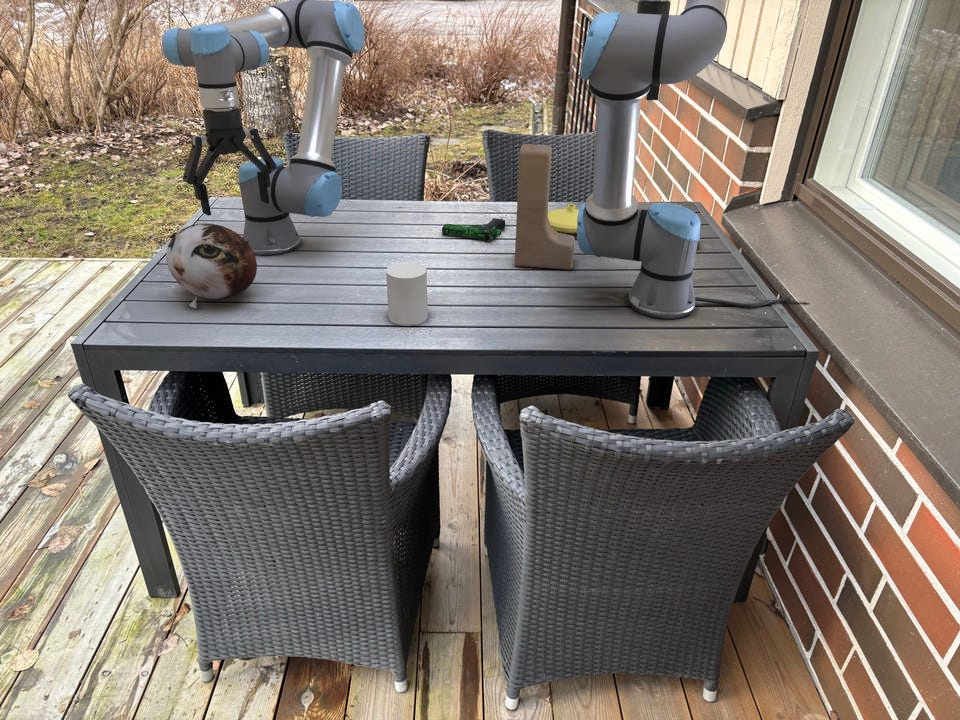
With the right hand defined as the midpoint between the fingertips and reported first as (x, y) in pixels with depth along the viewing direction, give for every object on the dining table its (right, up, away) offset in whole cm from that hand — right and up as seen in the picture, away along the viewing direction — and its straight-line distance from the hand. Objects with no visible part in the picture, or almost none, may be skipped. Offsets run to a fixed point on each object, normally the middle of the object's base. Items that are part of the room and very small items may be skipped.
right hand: (642, 94), depth 178 cm
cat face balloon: (-103, -51, -9) cm, 115 cm away
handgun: (-42, -29, +30) cm, 59 cm away
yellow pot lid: (-14, -28, +33) cm, 45 cm away
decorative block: (-24, -41, +10) cm, 48 cm away
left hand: (-95, -32, -20) cm, 102 cm away
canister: (-57, -56, -17) cm, 82 cm away
